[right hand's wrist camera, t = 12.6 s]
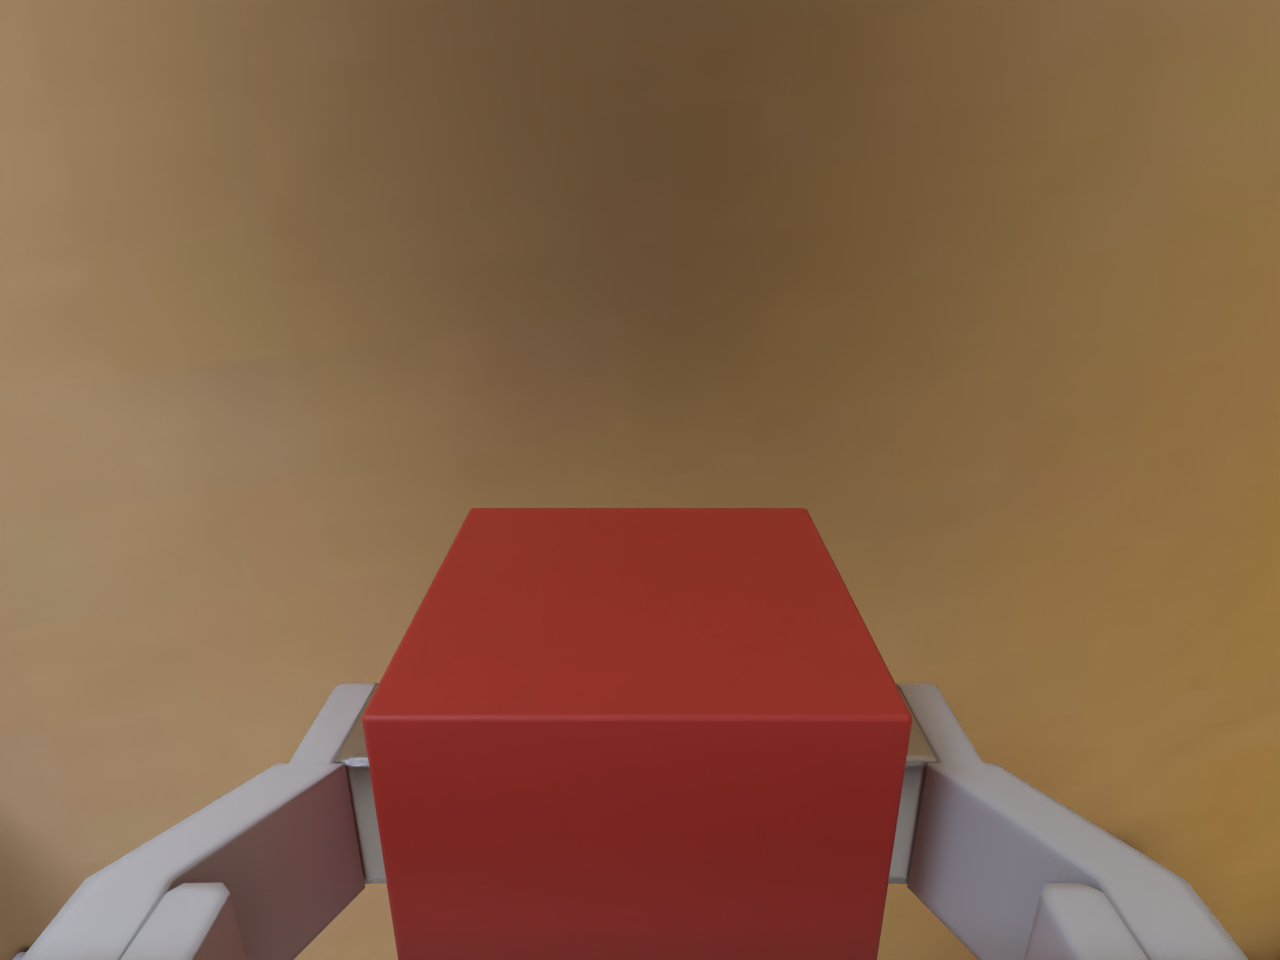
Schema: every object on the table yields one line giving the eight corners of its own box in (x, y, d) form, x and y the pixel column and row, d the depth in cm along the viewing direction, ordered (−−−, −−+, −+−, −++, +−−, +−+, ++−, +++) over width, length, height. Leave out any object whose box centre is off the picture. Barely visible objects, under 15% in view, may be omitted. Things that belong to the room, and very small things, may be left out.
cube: (493, 785, 13) (416, 1096, 9) (470, 506, 11) (358, 717, 7) (784, 785, 13) (858, 1096, 9) (807, 506, 11) (916, 717, 7)
